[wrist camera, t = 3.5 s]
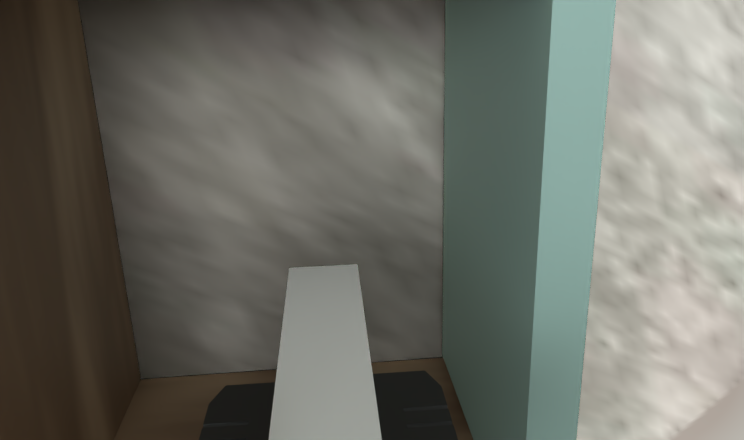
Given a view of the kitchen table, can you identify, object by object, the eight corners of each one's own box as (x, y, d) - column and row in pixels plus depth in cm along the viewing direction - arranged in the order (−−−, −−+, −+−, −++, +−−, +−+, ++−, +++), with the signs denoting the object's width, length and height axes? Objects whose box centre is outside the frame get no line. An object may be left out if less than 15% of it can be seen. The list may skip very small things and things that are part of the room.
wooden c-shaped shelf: (118, 403, 25) (4, 643, 16) (38, -35, 20) (-203, -65, 11) (469, 377, 26) (557, 587, 17) (480, -46, 21) (616, -82, 12)
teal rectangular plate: (442, 355, 26) (518, 563, 16) (445, -3, 21) (552, -4, 12) (472, 353, 26) (565, 558, 16) (481, -4, 21) (616, -6, 12)
